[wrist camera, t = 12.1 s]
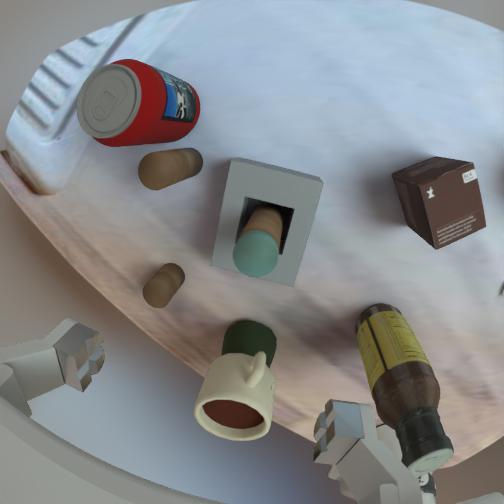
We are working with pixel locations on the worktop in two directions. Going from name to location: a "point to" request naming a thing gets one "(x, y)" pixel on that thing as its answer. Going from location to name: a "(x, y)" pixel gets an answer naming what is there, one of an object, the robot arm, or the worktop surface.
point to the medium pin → (169, 167)
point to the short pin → (163, 285)
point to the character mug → (239, 385)
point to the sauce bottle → (403, 388)
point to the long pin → (260, 241)
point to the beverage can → (136, 105)
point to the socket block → (274, 191)
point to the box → (441, 200)
